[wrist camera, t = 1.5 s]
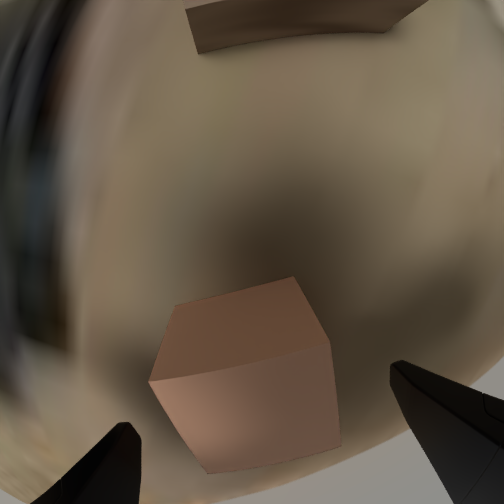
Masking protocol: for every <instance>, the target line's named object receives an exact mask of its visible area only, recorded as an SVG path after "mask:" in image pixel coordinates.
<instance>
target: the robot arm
mask: <svg viewBox="0 0 504 504" xmlns="http://www.w3.org/2000/svg"><path fill="white" fill-rule="evenodd" d="M390 386H391V388H392V391H393V393H394V395H395V397H396V399H397V402H398V404H399V406H400V408H401V411H402V413H403V415H404V417H405V419H406V422H407V423H408V425H409V427H410V428H411V430H412V432H413V433H414V435H415V437H416V438H417V440H418V442H419V443H420V445H421V447H422V448H423V450H424V452H425V454H426V455H427V457H428V459H429V460H430V462H431V464H432V466H433V467H434V469H435V471H436V472H437V474H438V476H439V478H440V480H441V481H442V483H443V485H444V487H445V488H446V490H447V492H448V494H449V496H450V498H451V499H452V501H453V503H454V504H504V400H502V399H498V398H496V397H493V396H490V395H488V394H485V393H483V394H482V392H480V391H477V390H475V389H472V388H470V387H467V386H465V385H462V384H460V383H457V382H455V381H452V380H450V379H447V378H445V377H442V376H440V375H437V374H435V373H433V372H430V371H428V370H425V369H423V368H421V367H418V366H416V365H414V364H411V363H409V362H407V361H404V360H399V361H396V362H394V363H392V364H391V365H390ZM141 444H142V442H141V438H140V436H139V434H138V433H137V431H136V430H135V429H134V427H133V426H132V425H131V423H129V422H119V423H118V424H116V425H115V426H114V427H113V428H112V429H111V430H110V431H109V432H108V433H107V434H106V435H105V436H104V437H103V438H102V439H101V440H100V441H99V442H98V443H97V444H96V445H95V446H94V447H93V448H92V449H91V450H90V451H89V452H88V453H87V454H86V455H85V456H84V457H83V458H81V459H80V460H79V461H78V462H77V463H76V464H75V465H74V466H73V467H72V468H71V469H70V470H69V471H68V472H67V473H66V474H65V475H64V476H62V477H61V479H59V480H58V481H57V482H56V483H55V484H54V485H53V486H52V487H51V488H49V489H48V490H47V491H46V492H45V493H43V494H42V495H41V496H40V497H38V498H37V499H36V500H34V501H33V502H32V503H30V504H139V494H140V484H141Z"/></svg>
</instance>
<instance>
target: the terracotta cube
mask: <svg viewBox="0 0 504 504" xmlns="http://www.w3.org/2000/svg"><path fill="white" fill-rule="evenodd" d="M148 382H149V384H150V386H151V388H152V389H153V391H154V393H155V395H156V396H157V398H158V400H159V402H160V403H161V405H162V407H163V408H164V410H165V412H166V413H167V415H168V416H169V418H170V420H171V421H172V423H173V424H174V426H175V428H176V429H177V431H178V432H179V434H180V435H181V437H182V438H183V440H184V441H185V443H186V444H187V446H188V447H189V449H190V450H191V452H192V453H193V454H194V456H195V457H196V459H197V460H198V461H199V463H200V464H201V466H202V467H203V468H204V470H205V471H206V472H207V474H213V473H222V472H230V471H237V470H244V469H250V468H256V467H262V466H267V465H272V464H277V463H282V462H286V461H291V460H295V459H299V458H303V457H307V456H311V455H314V454H318V453H322V452H325V451H328V450H332V449H335V448H338V447H341V446H342V444H341V432H340V421H339V411H338V402H337V392H336V384H335V375H334V367H333V360H332V352H331V345H330V341H329V339H328V337H327V335H326V333H325V332H324V330H323V328H322V326H321V324H320V322H319V321H318V319H317V317H316V315H315V313H314V312H313V310H312V308H311V306H310V304H309V303H308V301H307V299H306V297H305V295H304V294H303V292H302V290H301V288H300V286H299V285H298V283H297V281H296V279H295V278H294V276H293V277H289V278H285V279H281V280H278V281H274V282H270V283H266V284H262V285H258V286H254V287H251V288H247V289H243V290H239V291H235V292H231V293H227V294H223V295H219V296H214V297H210V298H206V299H202V300H198V301H194V302H189V303H185V304H181V305H177V306H175V307H174V310H173V313H172V315H171V318H170V321H169V324H168V326H167V329H166V332H165V335H164V338H163V340H162V343H161V346H160V349H159V352H158V355H157V358H156V361H155V363H154V366H153V369H152V372H151V375H150V378H149V381H148Z"/></svg>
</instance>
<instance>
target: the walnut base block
mask: <svg viewBox="0 0 504 504" xmlns="http://www.w3.org/2000/svg"><path fill="white" fill-rule="evenodd" d="M427 1H428V0H183V3H184V7H185V11H186V14H187V18H188V21H189V25H190V28H191V31H192V35H193V38H194V42H195V45H196V49H197V52H198V54H201V53H205V52H209V51H213V50H217V49H221V48H226V47H230V46H235V45H240V44H245V43H250V42H256V41H262V40H269V39H275V38H283V37H291V36H300V35H311V34H325V33H353V32H369V33H384V32H385V31H387V30H388V29H389V28H391V27H392V26H393V25H395V24H396V23H397V22H399V21H400V20H401V19H403V18H404V17H406V16H407V15H408V14H410V13H411V12H413V11H414V10H415V9H417V8H418V7H420V6H421V5H423V4H424V3H425V2H427Z"/></svg>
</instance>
